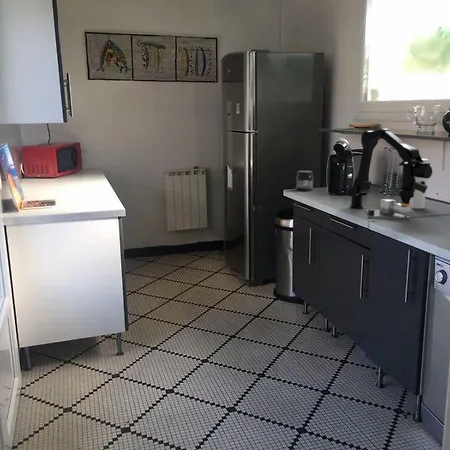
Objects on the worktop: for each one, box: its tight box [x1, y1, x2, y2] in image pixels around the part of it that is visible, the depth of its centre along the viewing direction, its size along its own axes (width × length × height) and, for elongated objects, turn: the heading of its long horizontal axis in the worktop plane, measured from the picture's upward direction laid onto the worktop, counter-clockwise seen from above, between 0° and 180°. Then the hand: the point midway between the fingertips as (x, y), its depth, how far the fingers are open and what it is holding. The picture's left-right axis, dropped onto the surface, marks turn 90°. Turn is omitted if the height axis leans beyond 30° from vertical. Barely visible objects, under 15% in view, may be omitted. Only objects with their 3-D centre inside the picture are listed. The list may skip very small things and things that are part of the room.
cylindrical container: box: [409, 158, 430, 210], centre depth 252 cm, size 7×7×25 cm
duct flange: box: [365, 208, 410, 220], centre depth 234 cm, size 16×18×3 cm
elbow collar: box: [379, 198, 414, 217], centre depth 230 cm, size 16×7×6 cm, turn 27°
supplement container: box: [295, 170, 314, 192], centre depth 308 cm, size 10×10×12 cm
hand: (405, 209), depth 228 cm, fingers closed
